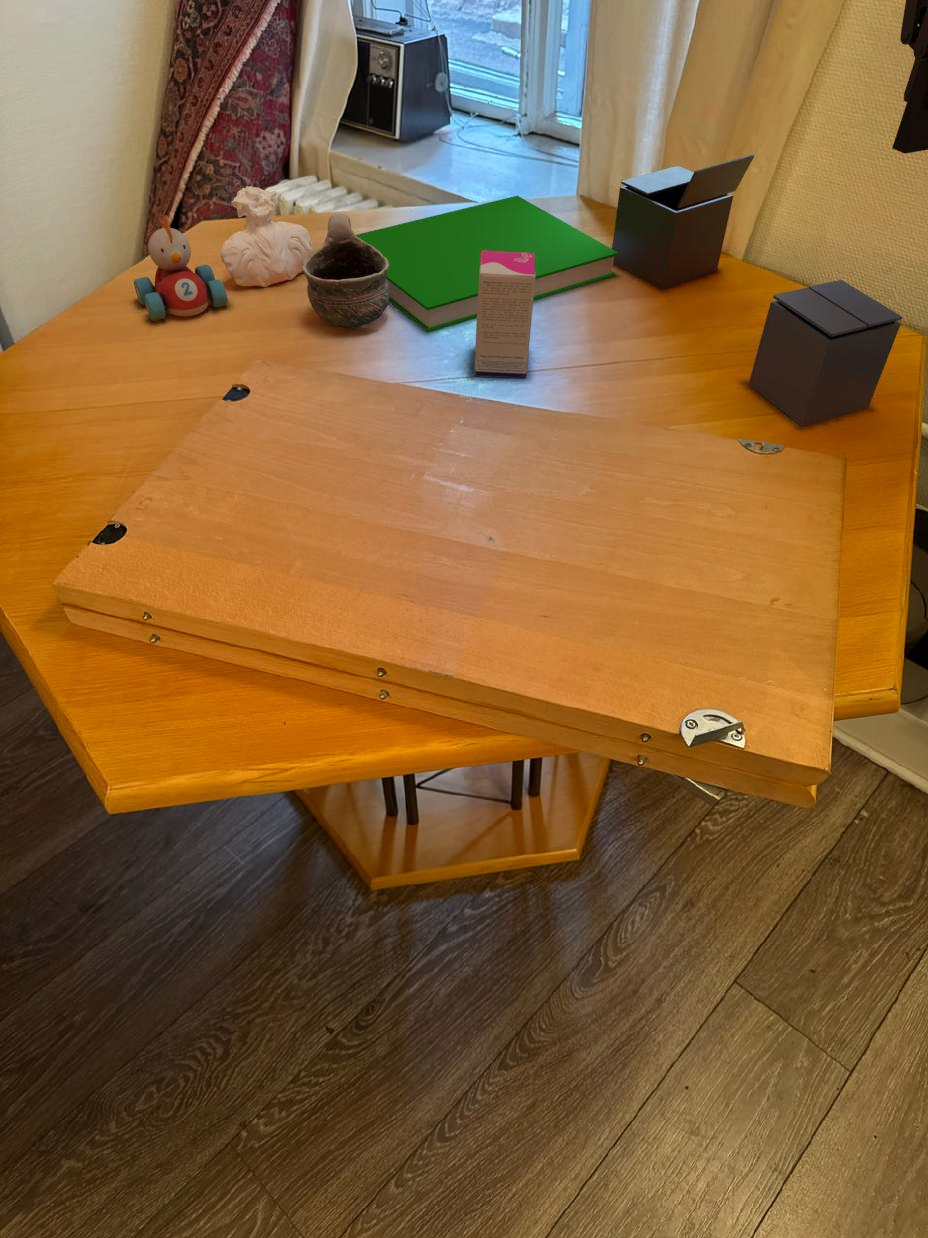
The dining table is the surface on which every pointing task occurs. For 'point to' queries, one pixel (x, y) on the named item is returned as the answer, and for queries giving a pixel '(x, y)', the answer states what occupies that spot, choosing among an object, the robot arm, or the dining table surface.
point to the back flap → (715, 181)
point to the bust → (264, 243)
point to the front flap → (856, 303)
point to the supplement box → (504, 313)
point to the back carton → (668, 229)
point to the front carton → (818, 358)
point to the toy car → (177, 278)
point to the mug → (346, 277)
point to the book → (450, 257)
